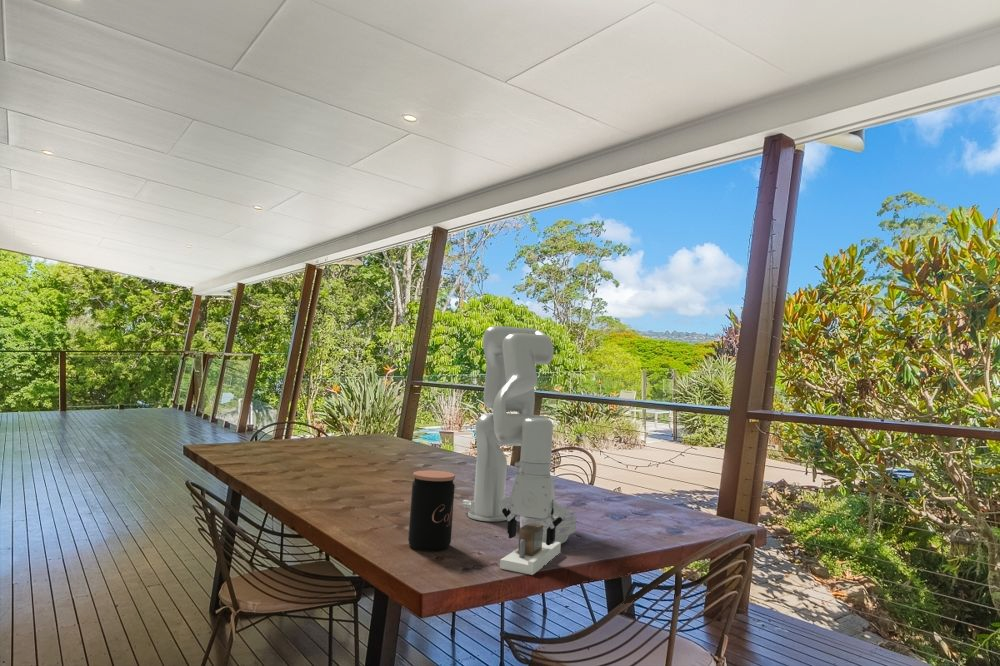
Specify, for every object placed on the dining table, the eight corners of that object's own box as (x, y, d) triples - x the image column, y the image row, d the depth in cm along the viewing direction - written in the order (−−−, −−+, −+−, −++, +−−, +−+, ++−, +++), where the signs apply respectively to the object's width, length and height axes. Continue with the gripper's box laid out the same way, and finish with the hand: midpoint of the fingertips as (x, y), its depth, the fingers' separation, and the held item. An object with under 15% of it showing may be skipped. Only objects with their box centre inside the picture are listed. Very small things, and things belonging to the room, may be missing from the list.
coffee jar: (432, 555, 149) (438, 479, 150) (398, 546, 154) (404, 472, 155) (458, 546, 158) (463, 474, 159) (425, 537, 163) (430, 468, 164)
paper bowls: (533, 530, 179) (534, 502, 179) (583, 539, 172) (584, 510, 172) (509, 541, 166) (511, 511, 166) (562, 552, 158) (564, 520, 159)
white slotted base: (499, 568, 142) (501, 541, 142) (530, 548, 160) (532, 524, 160) (532, 575, 138) (534, 547, 139) (560, 553, 157) (561, 529, 157)
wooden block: (517, 553, 147) (519, 528, 148) (527, 547, 154) (529, 522, 154) (532, 556, 146) (534, 530, 146) (542, 549, 152) (543, 524, 152)
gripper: (496, 466, 151) (491, 538, 150) (564, 475, 144) (559, 550, 143) (508, 463, 158) (503, 531, 157) (573, 471, 151) (569, 543, 150)
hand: (530, 540), depth 150 cm, fingers open, 9 cm apart
